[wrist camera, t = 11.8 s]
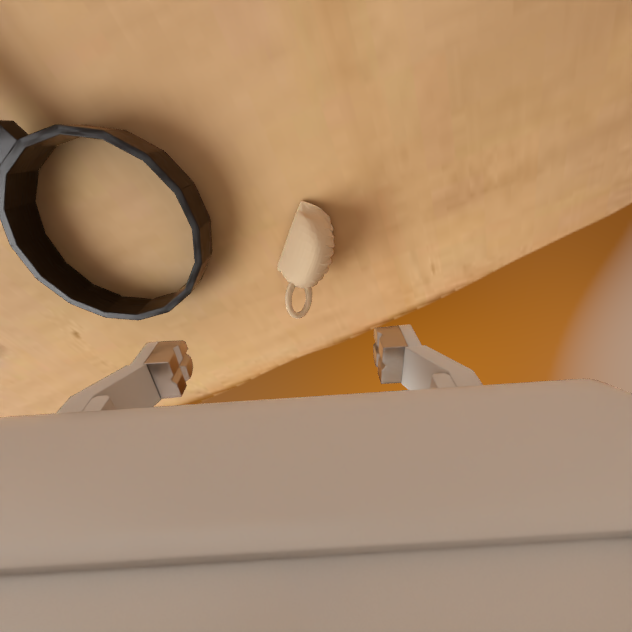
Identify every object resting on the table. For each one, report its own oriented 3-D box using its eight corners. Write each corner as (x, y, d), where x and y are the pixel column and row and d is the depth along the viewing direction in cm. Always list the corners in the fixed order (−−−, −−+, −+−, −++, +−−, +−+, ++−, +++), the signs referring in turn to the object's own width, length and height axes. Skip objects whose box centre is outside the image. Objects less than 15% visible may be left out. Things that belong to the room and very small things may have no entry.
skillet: (246, 239, 29) (239, 250, 26) (143, 329, 34) (128, 347, 31) (-67, -99, 19) (-133, -139, 16) (-154, 97, 23) (-216, 93, 21)
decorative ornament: (345, 217, 28) (352, 234, 23) (308, 296, 32) (308, 324, 27) (302, 198, 27) (300, 211, 23) (269, 281, 31) (262, 307, 26)
